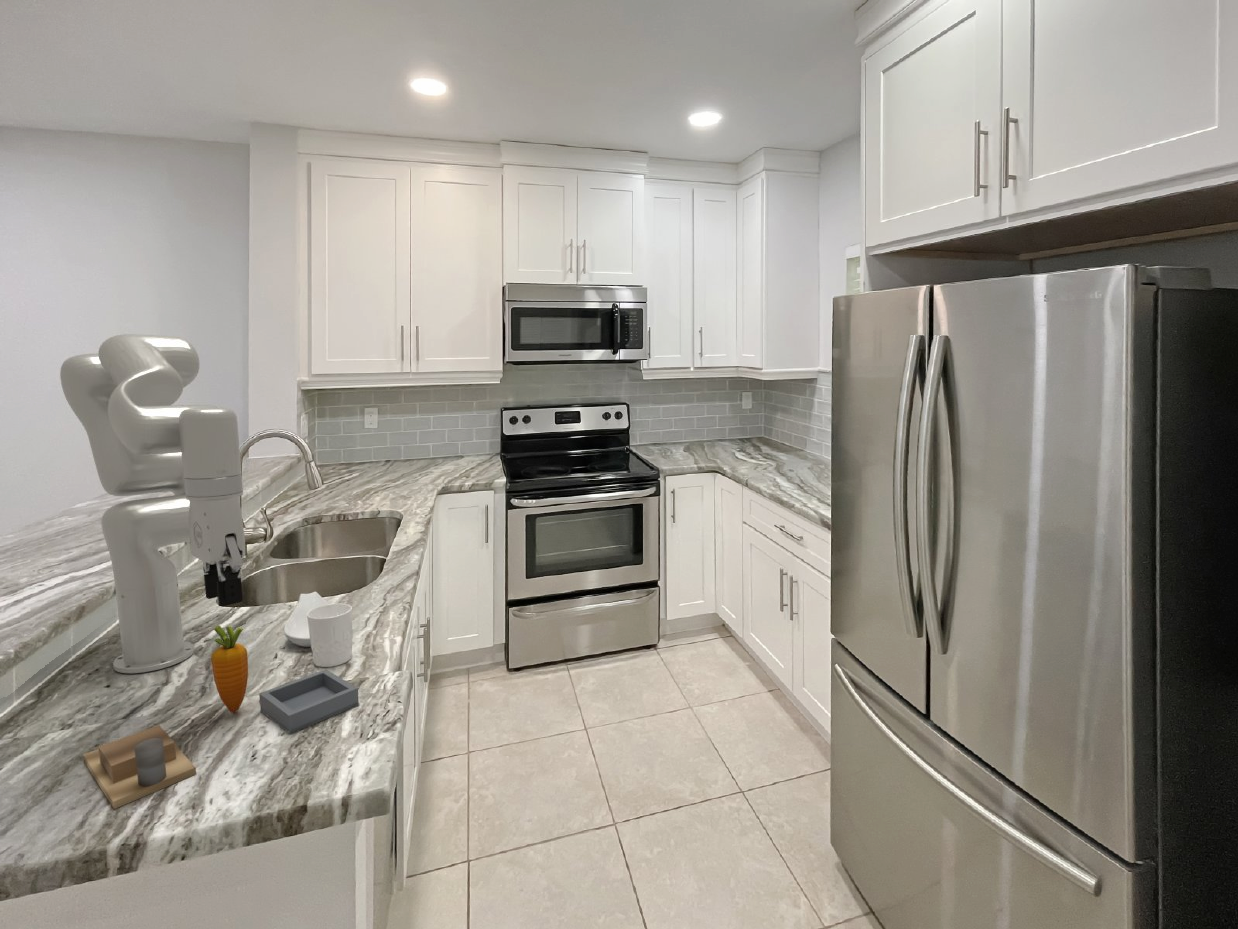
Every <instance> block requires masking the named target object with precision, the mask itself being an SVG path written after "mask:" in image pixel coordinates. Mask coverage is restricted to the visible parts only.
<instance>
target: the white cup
mask: <svg viewBox="0 0 1238 929" xmlns="http://www.w3.org/2000/svg"><path fill="white" fill-rule="evenodd" d="M307 620H308V628H309V636H310V641H311V647H310V648H311V652H312V660H313V664H314V665H315V666H316V667H319V668H332V667H337V666H340V665H343V664H345V663H347V662H348V661H350V660H351V659H352V655H353V653H352V651H353V648H352V647H353V646H352V644H353V607H352V605H351V604H348V603H329V604H328V605H323V606H319V607H316V608H314V609H312V610H310V611H309V612H308V613H307Z"/></svg>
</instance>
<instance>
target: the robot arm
mask: <svg viewBox="0 0 1238 929" xmlns="http://www.w3.org/2000/svg"><path fill="white" fill-rule="evenodd" d="M199 372H200V357H199V354H198V352H197V350H196V348H195V347H194V345H192V343H191V342H189V341H188V340H186V339H184V338H182V337H179V336H168V335H154V334H153V335H152V334H135V333H134V334H131V333H129V334H128V333H126V334H123V333H122V334H117V335H113V336H110V337H108V338H107V339H105V340H104V341H103V342H102V343H101V345H100V346H99V348H98V352H97V353H83V354H77V355H73V356H71V357H68V358H66V359H65V360H64V361H63V363H62V364H61V367H60V372H59V375H60V377H59V379H60V382H61V383H60V384H61V387H62V391H63V394H64V397H65V399H66V402H67V404H68V405H69V407H70V408H71V410H72V411H73V413H74V414H75V416H76V418H77V420H79V422H80V423H81V425H82V427H84V430H85V433H86V434H87V436H88V438H87V439H88V441H89V446H90V449H91V450H90V451H91V453H92V456H93V461H94V464H95V468H96V471H97V475H98V478H99V481H100V484H101V486H102V488H103V489H104V491H105V492H106V493H107V494H108V495H111V496H115V497H131V496H140V495H148V494H149V495H150V494H160V493H166V492H170V493H172V494H174V495H167V496H155V497H147V498H142V499H141V498H139V499H133V500H128V501H123V502H120V503H119V502H118V503H117V504H114V505H112V506H110V507H109V508H107V509H106V510H105V511H104V513H103V515H102V516H101V522H100V523H101V530H102V533H103V537H104V540H105V543H106V546H107V550H108V552H109V553H108V554H109V556H110V561H111V566H112V572H113V581H114V582H113V583H114V588H115V589H114V590H115V596H116V606H117V613H118V617H117V618H118V623H119V624H118V625H119V633H120V641H121V642H120V643H121V649H122V651H121V652H122V654H120V655H119V656H117V657H116V658H115V659H114V660H113V663H112V666H113V670H114V671H115V672H118V673H122V674H141V673H149V672H153V671H158V670H162V669H165V668H169V667H172V666H175V665H176V664H180V663H181V662H183V661H185V660H187V659H188V658H190V657H191V656H192V655H193V654H194V652H195V647H194V644H193V643H192V642H191V641H186V640H184V631H183V620H182V611H181V610H182V609H181V601H180V600H181V599H180V591H179V590H180V588H179V581H178V571H177V568H176V566H175V563H174V562H173V561H172V560H171V559H170V558H168V557H167V556H165V555H164V554H162V553H161V552H160V551H159V550H160V548H164V547H168V546H170V545H176V544H177V545H178V544H183V543H187V542H188V543H189V547H190V548H189V550H190V554H191V555H192V556H193V557H194V558H197V559H198V560H201V561H202V562H203V563H202V571H203V573H204V574H203V578H204V579H203V580H204V591H205V598H206V599H208V600H211V599H216V598H217V600H218V606H220V607H221V608H223V607H226V606H231V605H235V604H239V603H241V602H243V600H244V598H243V586H242V571H241V569H242V567H243V564H244V563H243V562H244V561H243V558H244V557H245V555H246V538H245V531H244V528H245V527H244V522H243V514H242V509H241V504H240V503H241V502H240V497H241V496H243V495H244V485H243V475H242V462H241V451H240V450H241V449H240V440H239V428H238V426H239V424H238V417H237V414H236V412H235V411H234V410H232V409H231V408H228V407H218V406H215V405H209V404H195V405H194V404H193V405H191V404H190V405H184V404H177V405H176V404H175V403H176V402H177V401H178V400H179V399H180V397H181V395H182V394H183V391H184V388H186V387H187V386H189V385H190V384H191V383H192V382H193V381H194V380H195V379H196V377H197V376H198V374H199ZM226 557H228V559H226ZM227 564H228V565H227Z"/></svg>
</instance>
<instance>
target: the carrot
mask: <svg viewBox="0 0 1238 929" xmlns="http://www.w3.org/2000/svg"><path fill="white" fill-rule="evenodd" d="M225 629H226V631H225V630H224V629H223V627H221V625H216V626H215V627H214V628H213V630H214V632H215V633H216V634H217V635H218V637H219V638H215V639H213V641H214V642H215V643H217V644H219V645H220V646H219V647H218V648H217V649H215V650H214V651H213V652H212V653H211V654H210V655H211V657H210V659H211V666H212V667H211V668H212V669H211V670H212V674H213V680H214V685H215V687H216V690H217V693H218V695H219V698H220V700H221V701H222V703H223V705H224V706H225V707H226V708H227V710H228V711H229V712H230V713H231V714H236V713H237V712H238V711H239V710H240V708H241V705H242V703H243V701H244V699H245V696H246V692H247V687H248V686H247V685H248V676H249V662H248V661H249V660H248V650H247V648H246V647H245V646H244V645H242V644H241V643H237V641H238V638H239V636H240V635H241V633H242V631H243V627H237V629H236V630H235V632H234V629H233V627H232V626H226V627H225ZM226 632H227V633H228V634H227V633H226Z"/></svg>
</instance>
